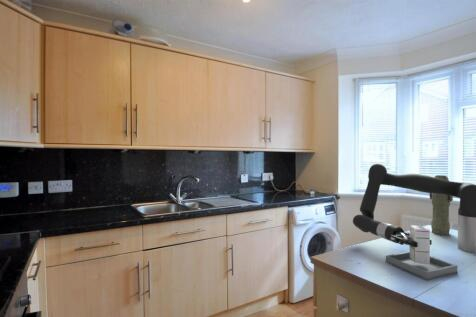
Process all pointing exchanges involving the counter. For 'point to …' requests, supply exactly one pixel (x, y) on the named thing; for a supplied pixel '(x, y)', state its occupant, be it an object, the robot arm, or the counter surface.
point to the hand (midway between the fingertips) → (424, 243)
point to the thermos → (440, 211)
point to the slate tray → (422, 266)
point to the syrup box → (420, 244)
